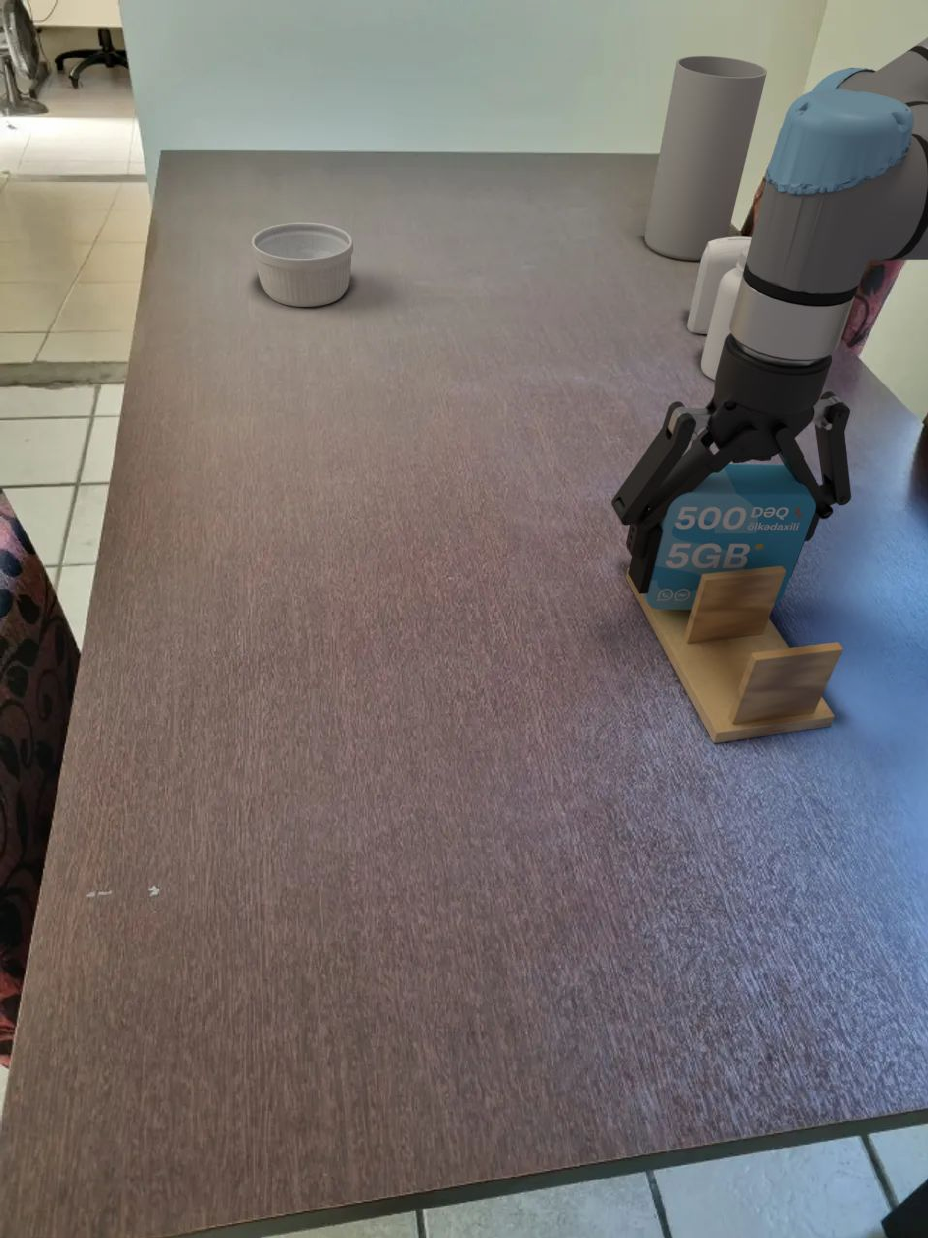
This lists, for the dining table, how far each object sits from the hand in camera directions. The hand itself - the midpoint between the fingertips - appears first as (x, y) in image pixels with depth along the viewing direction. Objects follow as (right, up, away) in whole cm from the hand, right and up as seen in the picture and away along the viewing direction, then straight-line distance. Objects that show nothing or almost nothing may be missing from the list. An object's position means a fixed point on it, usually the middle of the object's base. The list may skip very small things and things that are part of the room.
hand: (709, 575), depth 81 cm
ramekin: (-43, +41, +48) cm, 76 cm away
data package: (0, -2, +1) cm, 2 cm away
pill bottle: (+12, +27, +37) cm, 47 cm away
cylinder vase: (+13, +55, +67) cm, 88 cm away
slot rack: (+1, -6, 0) cm, 6 cm away
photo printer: (+14, +35, +45) cm, 59 cm away
